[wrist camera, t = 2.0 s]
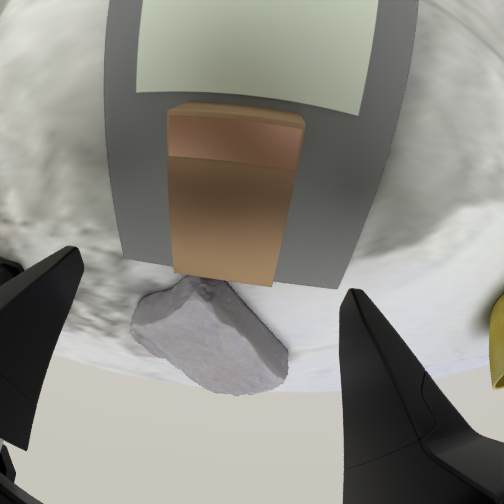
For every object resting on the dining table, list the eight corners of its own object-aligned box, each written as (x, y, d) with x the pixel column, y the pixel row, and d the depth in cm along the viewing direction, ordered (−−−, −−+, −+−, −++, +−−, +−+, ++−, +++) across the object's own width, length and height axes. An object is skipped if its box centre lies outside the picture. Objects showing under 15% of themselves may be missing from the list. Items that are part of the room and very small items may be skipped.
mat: (126, 254, 17) (123, 260, 17) (120, -33, 6) (114, -35, 6) (336, 284, 17) (337, 291, 17) (415, -7, 6) (421, -9, 6)
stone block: (216, 355, 28) (301, 351, 23) (200, 394, 25) (290, 402, 19) (136, 281, 22) (220, 253, 17) (107, 324, 19) (188, 315, 14)
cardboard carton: (273, 255, 16) (271, 288, 14) (186, 243, 16) (173, 273, 14) (300, 113, 11) (306, 125, 9) (187, 101, 11) (166, 111, 9)
